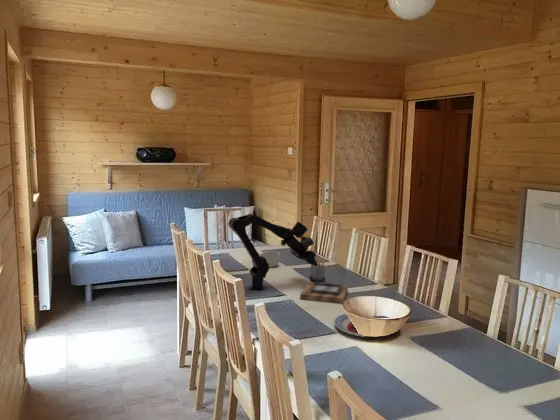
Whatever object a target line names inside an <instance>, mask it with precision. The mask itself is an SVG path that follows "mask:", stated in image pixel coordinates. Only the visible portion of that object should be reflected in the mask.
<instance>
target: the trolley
mask: <svg viewBox="0 0 560 420" xmlns="http://www.w3.org/2000/svg"><path fill="white" fill-rule="evenodd" d="M321 261H322V263H321ZM317 264H318V265H317V266H314V265H311V264H310V275H309V280H311V281H312V282H313V283H316V282H321V283H325V281H326V278H325V269H326V267H325V258H322V257H320V256H318V257H317Z"/></svg>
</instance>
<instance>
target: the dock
mask: <svg viewBox="0 0 560 420" xmlns="http://www.w3.org/2000/svg"><path fill="white" fill-rule="evenodd" d="M348 290H349V289H348V285H344V284H341V283H330V282H323V283H322V282H320V281H319V282H316V283H315V282H314V281H312V282H311V281H309V282H307V284H306V285H305V286H304V288H303V289H302V290H301V292H300V293H299V295H300V296H299V299H300V300H304V301H313V302H321V303H333V304H342V302H343V303H344V300H345V299H346V296H347V293H348Z"/></svg>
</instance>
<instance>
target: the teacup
mask: <svg viewBox="0 0 560 420" xmlns="http://www.w3.org/2000/svg"><path fill="white" fill-rule="evenodd" d="M258 254H259V256H263V257H264V258H266V261H267V263H268V264H269V265H268V266H269V268H275V267H277V266H278V265H279V264H280V257H281V253H280V252H278V251H276V250H275V251H274V250H266V251H262V253H259V252H258Z"/></svg>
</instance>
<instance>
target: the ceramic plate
mask: <svg viewBox="0 0 560 420" xmlns="http://www.w3.org/2000/svg"><path fill="white" fill-rule="evenodd" d="M373 317H376V318H390V316H389V317H388V316H386V315H383V316H373ZM334 325H335V327H336V328H337V329H339V330H340V331H342V332H343V333H346V334H349V335H352V336H355V337H363V338H366V337H365V336H363V335H361V334H358V332H357V330H356V328H355V327H354V325H353V324H352V322H351V321H350V319H349V318H348V316H347V315H346V313H343V314H340V315H338V316H337V317H335V319H334Z"/></svg>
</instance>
